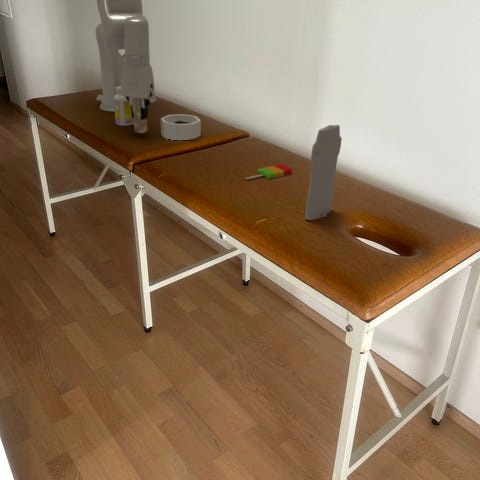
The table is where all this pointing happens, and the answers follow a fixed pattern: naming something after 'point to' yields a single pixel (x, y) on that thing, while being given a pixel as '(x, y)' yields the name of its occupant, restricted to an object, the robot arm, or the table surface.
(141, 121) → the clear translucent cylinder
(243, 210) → the table surface
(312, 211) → the gray upright slab
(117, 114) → the supplement bottle
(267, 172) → the popsicle
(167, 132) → the grey hollow ring
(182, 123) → the clip
